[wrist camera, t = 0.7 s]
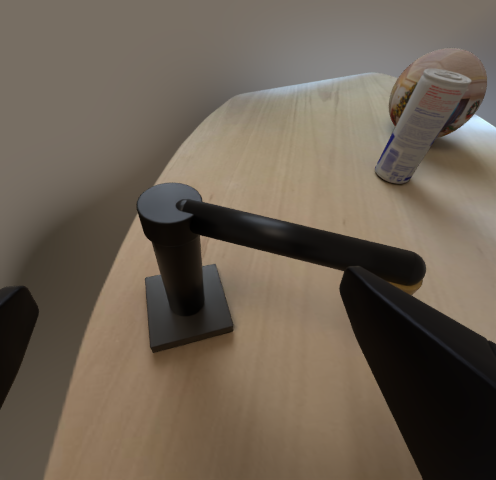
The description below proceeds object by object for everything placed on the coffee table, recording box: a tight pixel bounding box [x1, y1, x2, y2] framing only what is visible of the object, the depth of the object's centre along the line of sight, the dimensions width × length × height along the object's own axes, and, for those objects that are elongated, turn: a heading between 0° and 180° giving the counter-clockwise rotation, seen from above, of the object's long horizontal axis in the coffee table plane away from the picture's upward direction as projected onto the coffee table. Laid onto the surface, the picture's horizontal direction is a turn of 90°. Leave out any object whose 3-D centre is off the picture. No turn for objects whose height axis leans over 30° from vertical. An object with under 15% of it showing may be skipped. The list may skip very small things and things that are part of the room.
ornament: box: [389, 48, 487, 138], centre depth 50 cm, size 15×15×15 cm
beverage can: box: [375, 69, 471, 184], centre depth 39 cm, size 6×6×15 cm
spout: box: [137, 183, 426, 296], centre depth 17 cm, size 17×4×7 cm, turn 76°
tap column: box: [145, 235, 233, 353], centre depth 21 cm, size 7×7×11 cm
